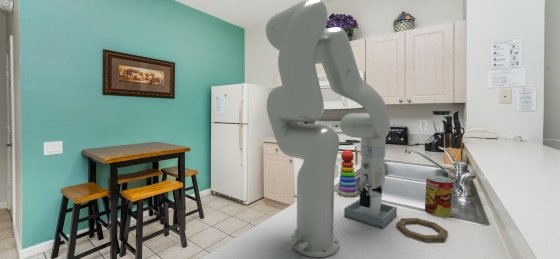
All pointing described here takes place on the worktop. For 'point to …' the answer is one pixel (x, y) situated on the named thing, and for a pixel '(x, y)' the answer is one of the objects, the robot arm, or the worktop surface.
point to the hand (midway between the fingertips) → (370, 202)
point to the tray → (381, 221)
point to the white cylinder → (373, 204)
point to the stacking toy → (347, 175)
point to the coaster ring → (420, 237)
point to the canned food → (439, 196)
